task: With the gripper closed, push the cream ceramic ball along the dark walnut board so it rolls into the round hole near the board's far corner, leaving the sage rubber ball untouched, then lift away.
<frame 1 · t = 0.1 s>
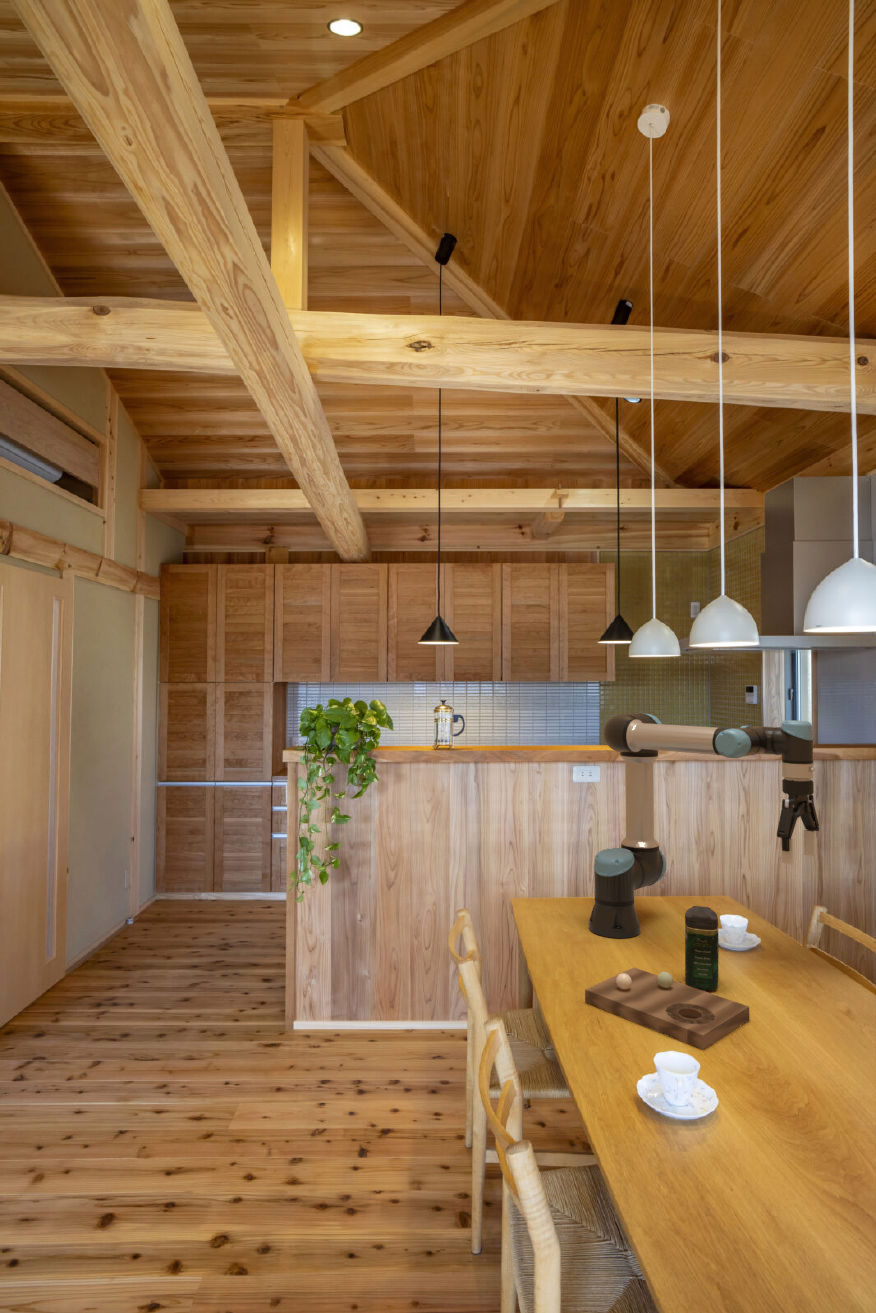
hand: (798, 859, 199), 28 cm above the table, tool pointing down, fingers open, 13 cm apart
board: (665, 1010, 172), on the table
cream ball: (623, 981, 177), point 5 cm above the table, touching board
sage ball: (665, 979, 177), point 5 cm above the table, touching board
coffee jar: (702, 985, 187), on the table
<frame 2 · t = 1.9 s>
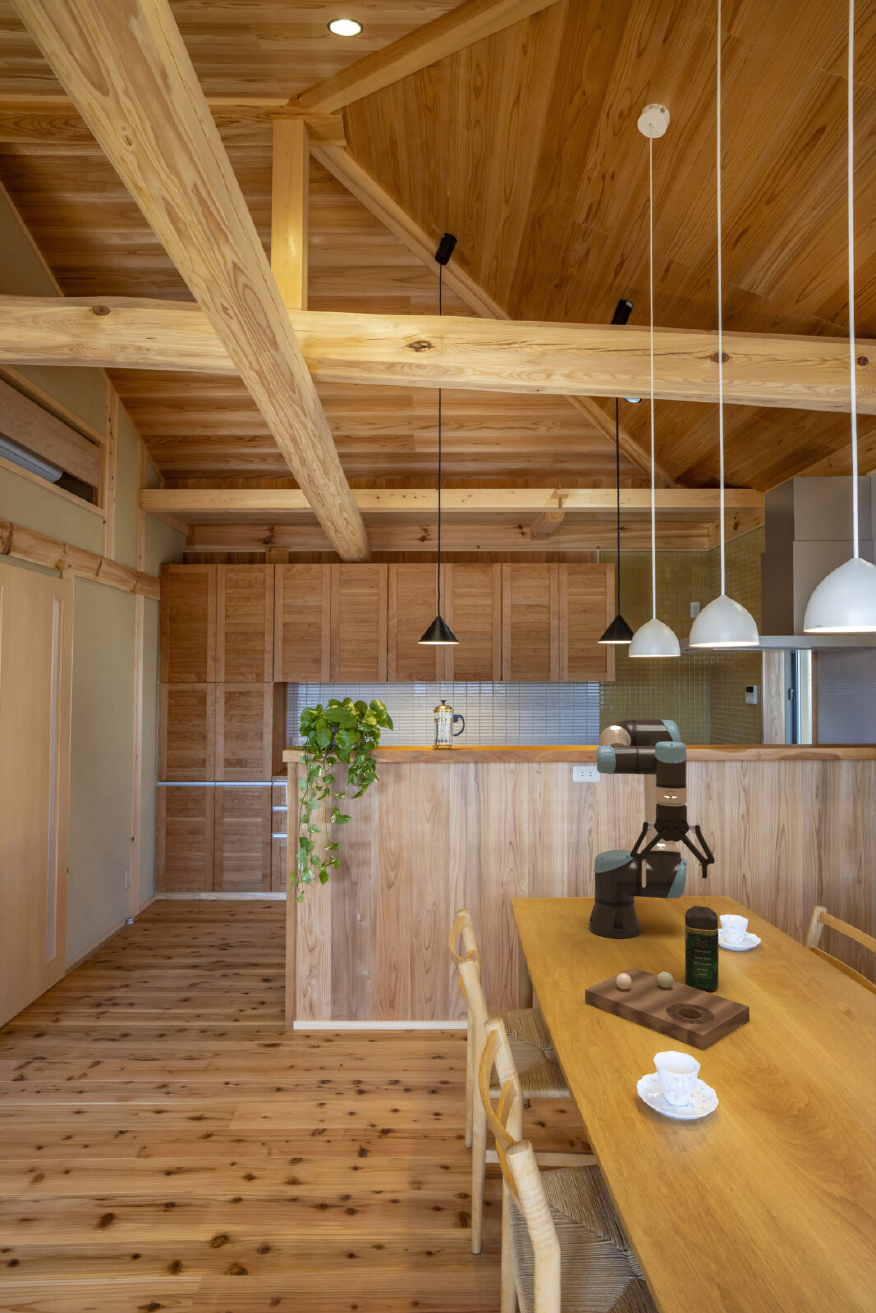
hand: (672, 888, 188), 23 cm above the table, tool pointing down, fingers open, 13 cm apart
nothing on the table moved.
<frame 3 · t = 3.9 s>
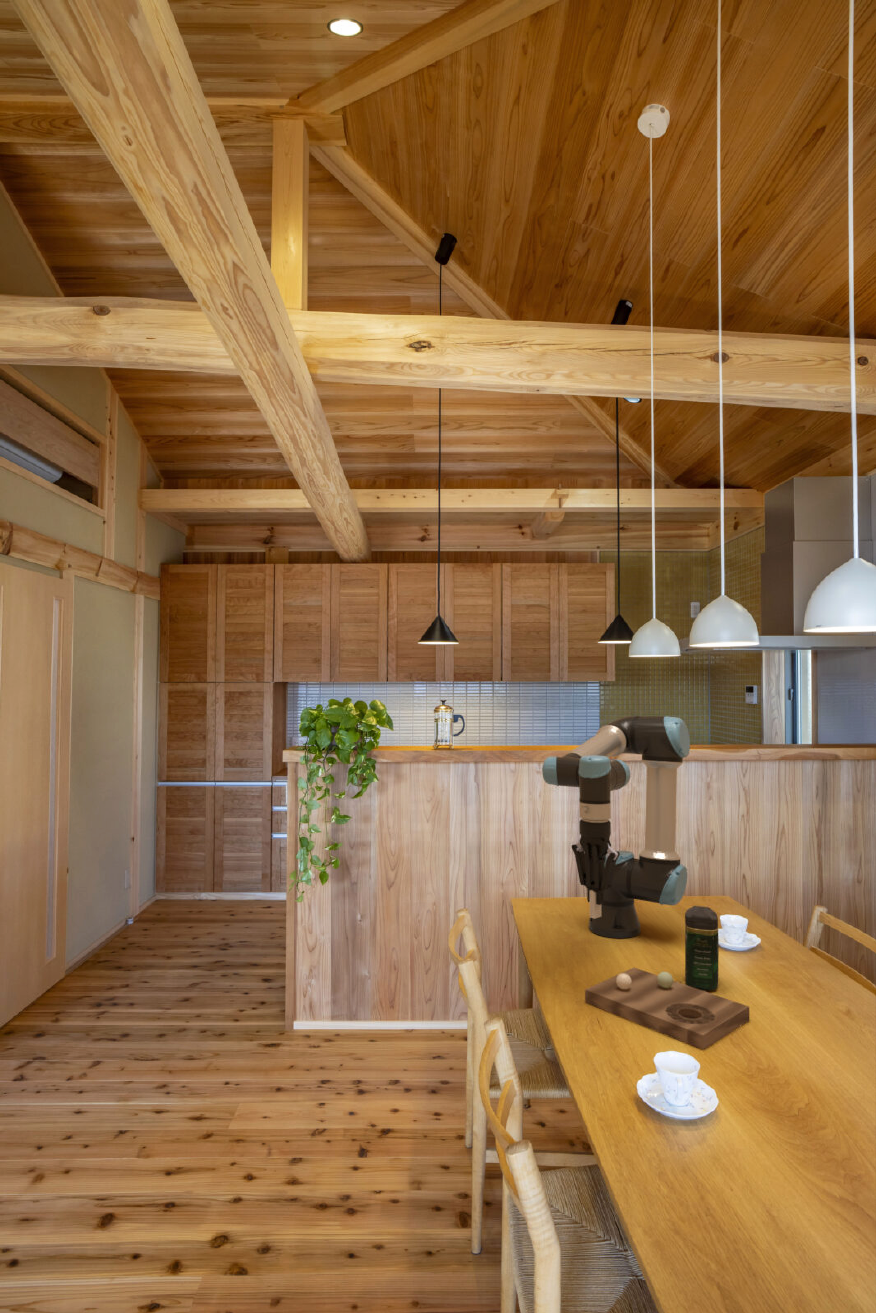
hand: (595, 916, 183), 18 cm above the table, tool pointing down, fingers closed
nothing on the table moved.
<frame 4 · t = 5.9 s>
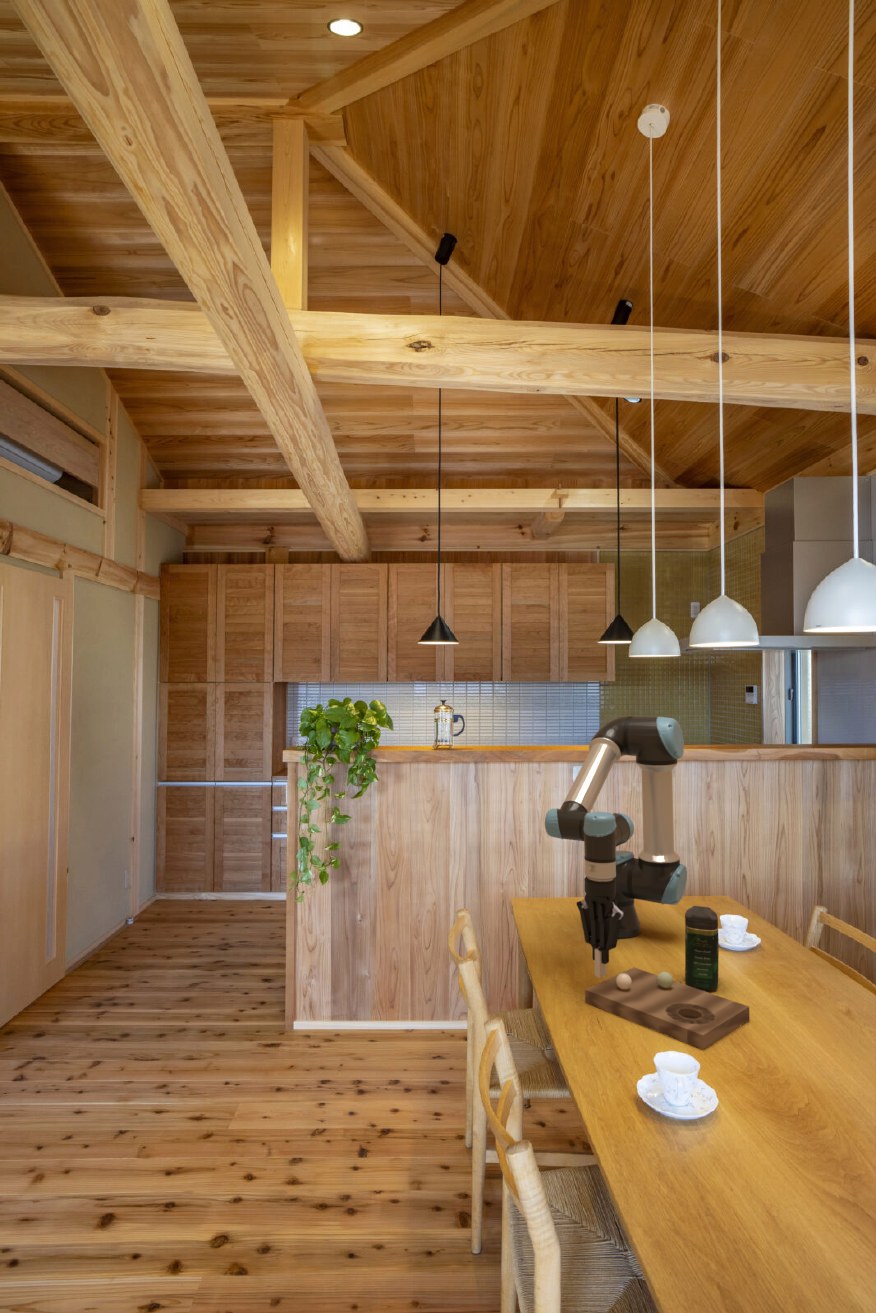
hand: (600, 975, 182), 4 cm above the table, tool pointing down, fingers closed
nothing on the table moved.
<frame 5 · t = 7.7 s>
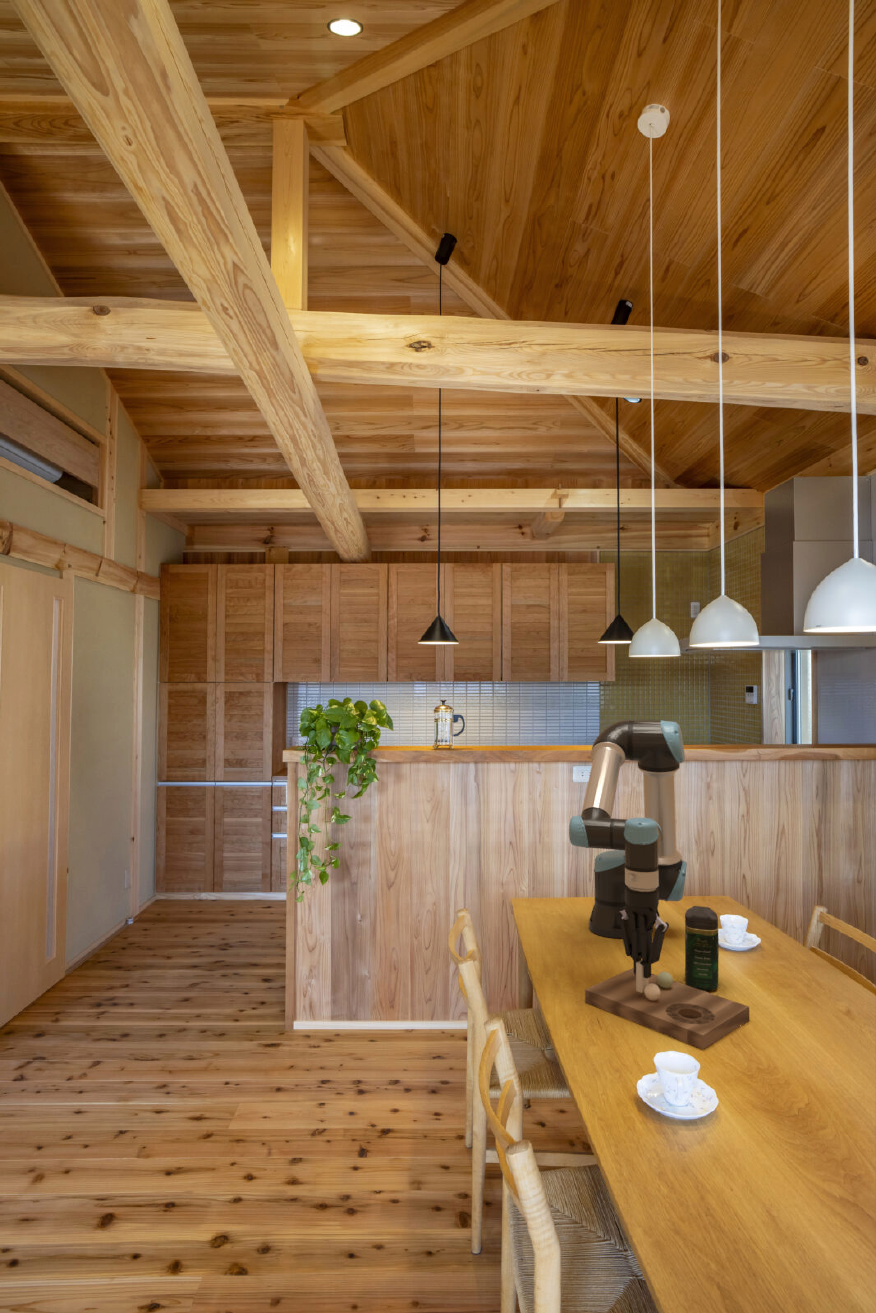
hand: (642, 990, 173), 4 cm above the table, tool pointing down, fingers closed
cream ball: (652, 991, 171), point 5 cm above the table, tilted 116°, touching board
everything else where it was.
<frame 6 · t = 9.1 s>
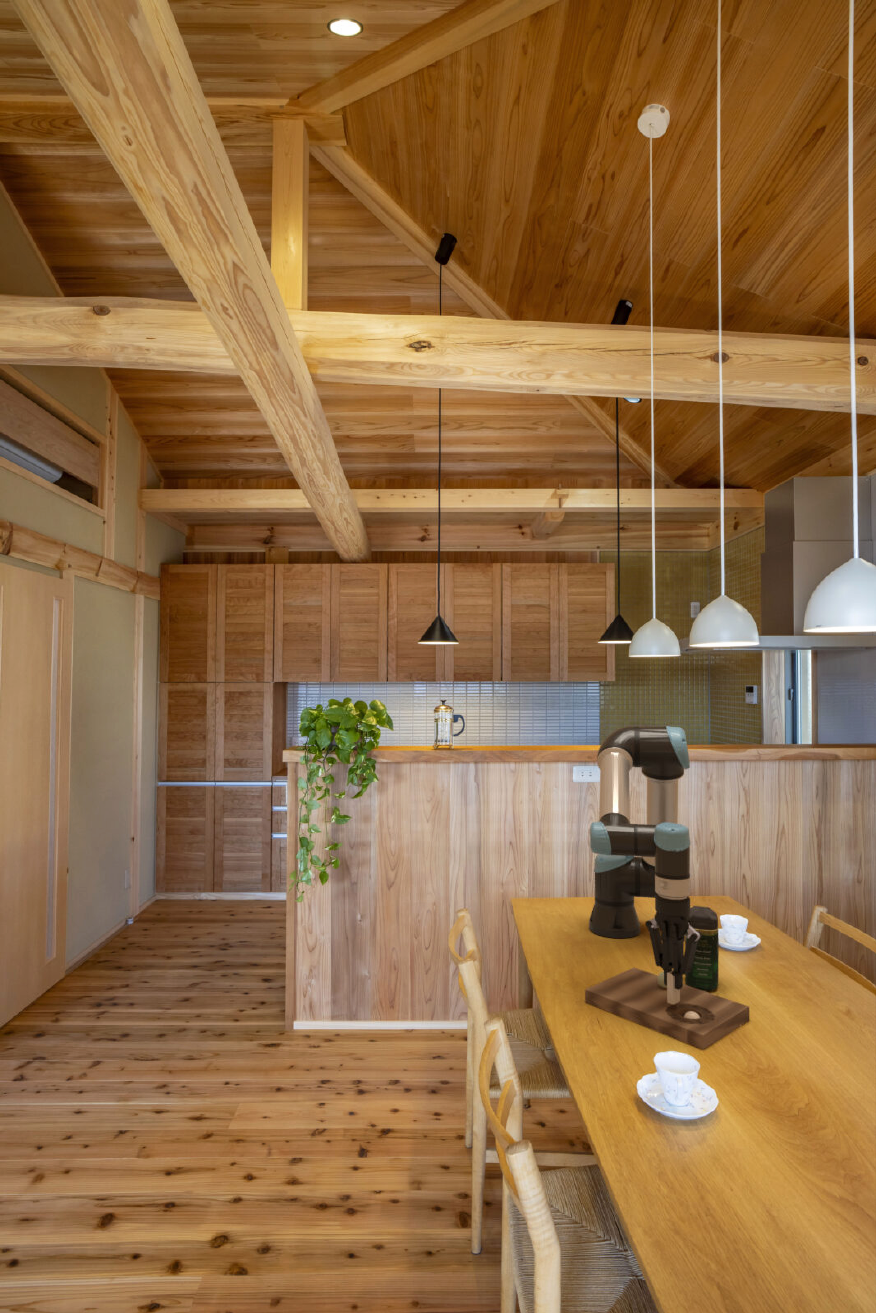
hand: (673, 1001, 167), 4 cm above the table, tool pointing down, fingers closed
cream ball: (692, 1020, 163), point 2 cm above the table, tilted 123°
everything else where it was.
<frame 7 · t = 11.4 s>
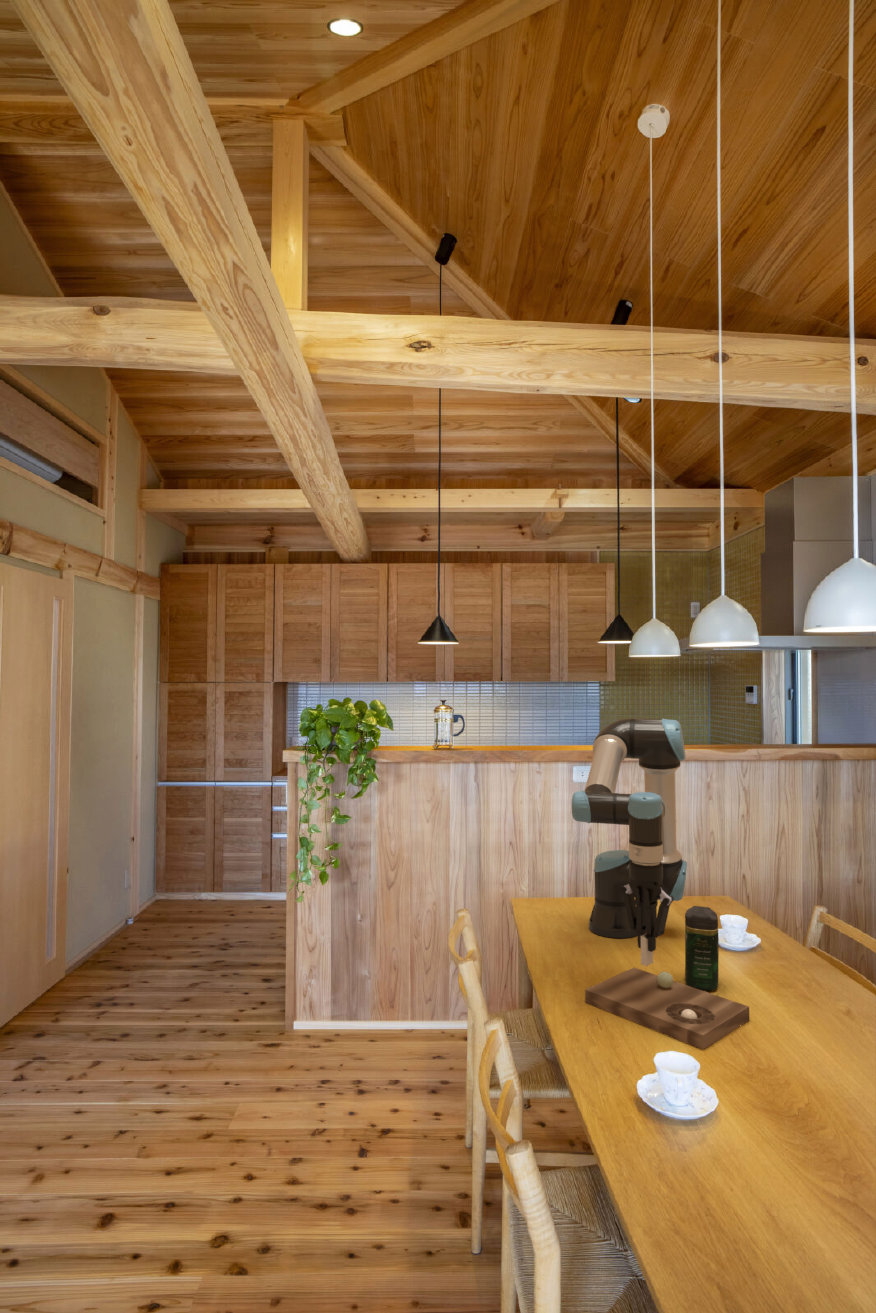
hand: (647, 963, 173), 11 cm above the table, tool pointing down, fingers closed
cream ball: (688, 1017, 164), point 2 cm above the table, tilted 152°
everything else where it was.
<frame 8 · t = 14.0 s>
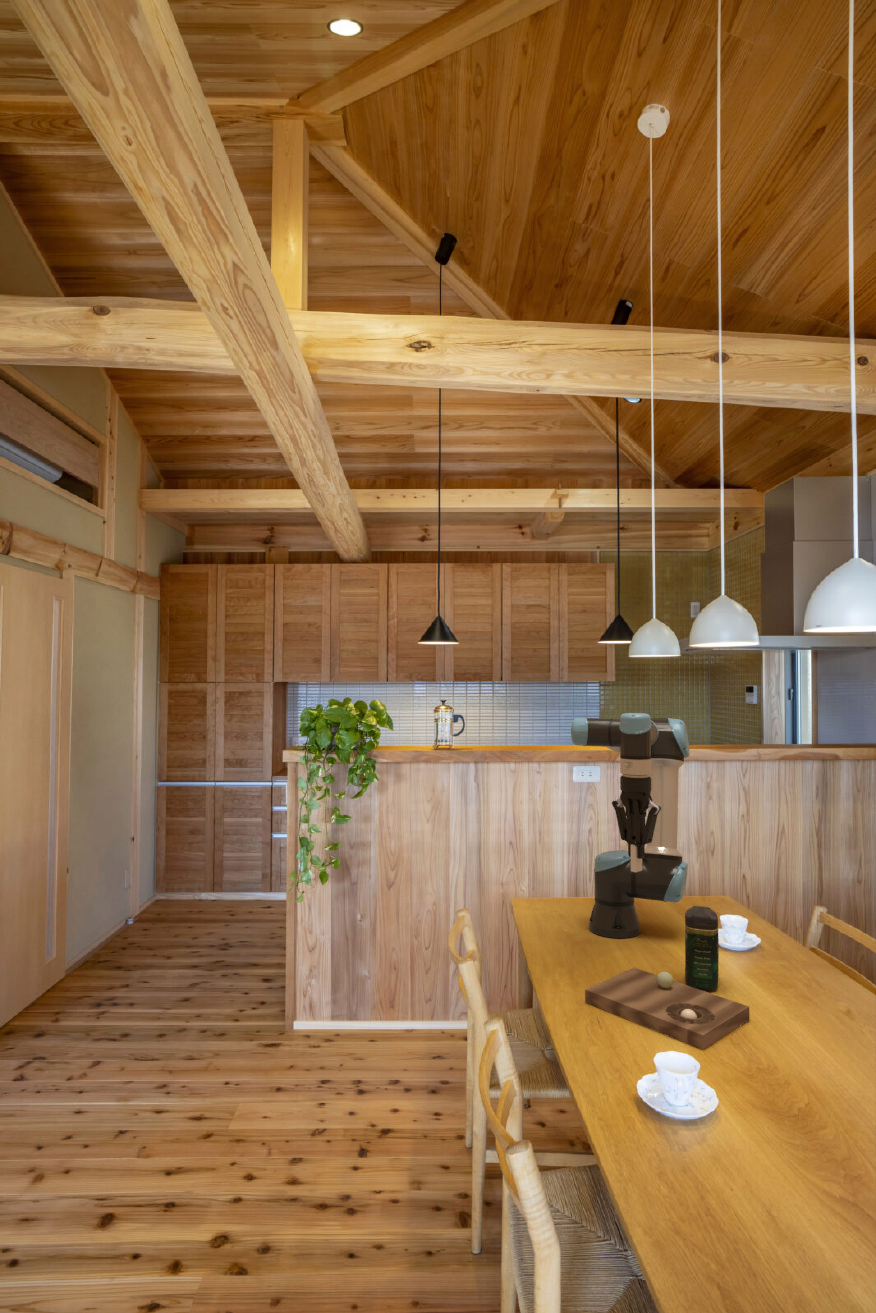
hand: (636, 870, 186), 28 cm above the table, tool pointing down, fingers closed
nothing on the table moved.
at the end: cream ball 0.6 cm from the target spot in the board, point 1.8 cm above the board's base; sage ball moved 0.0 cm from its start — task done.
